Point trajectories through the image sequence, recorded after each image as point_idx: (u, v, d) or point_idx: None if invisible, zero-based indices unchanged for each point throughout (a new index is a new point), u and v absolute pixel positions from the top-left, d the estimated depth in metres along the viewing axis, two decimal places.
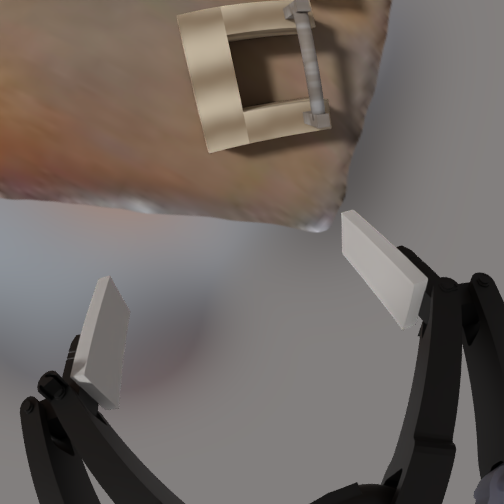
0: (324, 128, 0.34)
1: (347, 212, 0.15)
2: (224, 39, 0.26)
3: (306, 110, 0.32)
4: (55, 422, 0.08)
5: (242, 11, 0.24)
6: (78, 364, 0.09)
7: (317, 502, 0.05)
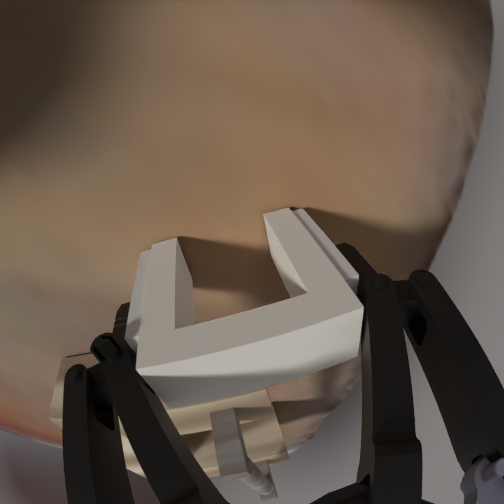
0: (280, 462, 0.25)
1: (296, 211, 0.16)
2: None
3: (256, 462, 0.23)
4: (104, 388, 0.09)
5: None
6: (132, 326, 0.11)
7: (317, 502, 0.05)
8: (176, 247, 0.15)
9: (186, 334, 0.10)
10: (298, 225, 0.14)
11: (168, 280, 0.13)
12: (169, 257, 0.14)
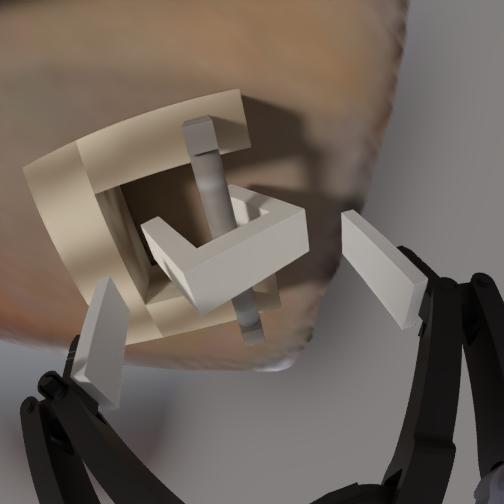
0: (269, 309, 0.25)
1: (347, 212, 0.15)
2: (92, 203, 0.17)
3: None
4: (55, 422, 0.08)
5: (111, 143, 0.16)
6: (78, 364, 0.09)
7: (317, 502, 0.05)
8: (162, 220, 0.20)
9: (206, 247, 0.15)
10: (243, 189, 0.21)
11: (172, 233, 0.18)
12: (162, 225, 0.19)
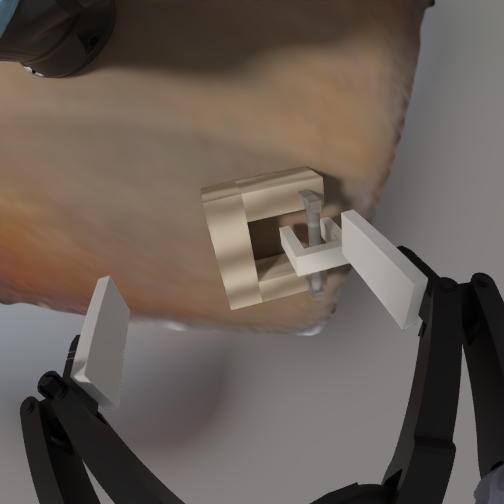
0: None
1: (347, 212, 0.15)
2: (245, 226, 0.38)
3: (308, 275, 0.44)
4: (55, 422, 0.08)
5: (261, 198, 0.37)
6: (78, 364, 0.09)
7: (317, 502, 0.05)
8: (290, 228, 0.42)
9: (308, 249, 0.37)
10: (333, 223, 0.41)
11: (294, 238, 0.40)
12: (290, 231, 0.41)
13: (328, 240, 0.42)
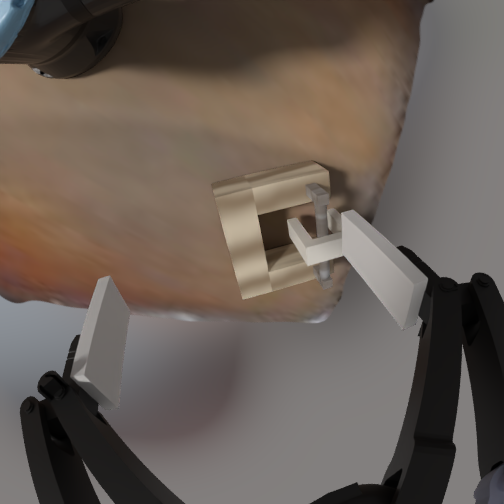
0: None
1: (347, 212, 0.15)
2: (255, 219, 0.40)
3: (316, 264, 0.46)
4: (55, 422, 0.08)
5: (270, 191, 0.38)
6: (78, 364, 0.09)
7: (317, 502, 0.05)
8: (298, 220, 0.44)
9: (316, 239, 0.38)
10: (339, 214, 0.43)
11: (302, 229, 0.41)
12: (298, 223, 0.43)
13: (334, 230, 0.43)
